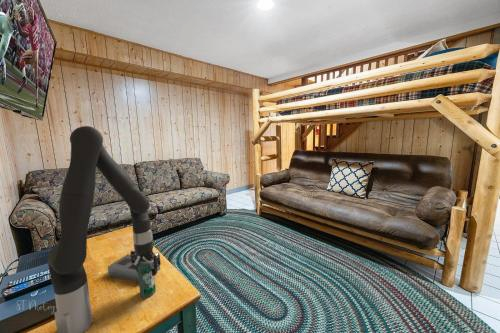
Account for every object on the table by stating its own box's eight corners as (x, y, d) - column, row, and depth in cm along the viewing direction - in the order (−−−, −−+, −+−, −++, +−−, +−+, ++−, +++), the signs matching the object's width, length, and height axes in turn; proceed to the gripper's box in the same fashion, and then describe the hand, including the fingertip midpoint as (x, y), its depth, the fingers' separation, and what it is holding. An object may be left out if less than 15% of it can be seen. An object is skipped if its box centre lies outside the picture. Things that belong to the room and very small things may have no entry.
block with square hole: (142, 283, 102) (141, 274, 101) (108, 275, 108) (107, 266, 107) (160, 269, 113) (159, 260, 112) (128, 262, 119) (127, 253, 119)
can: (149, 298, 92) (146, 267, 90) (137, 296, 93) (134, 265, 91) (158, 289, 98) (155, 259, 96) (146, 287, 99) (144, 257, 97)
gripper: (123, 241, 91) (127, 275, 93) (150, 246, 87) (153, 281, 89) (137, 233, 98) (140, 265, 100) (162, 237, 94) (165, 270, 96)
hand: (146, 273), depth 95 cm, fingers open, 8 cm apart
